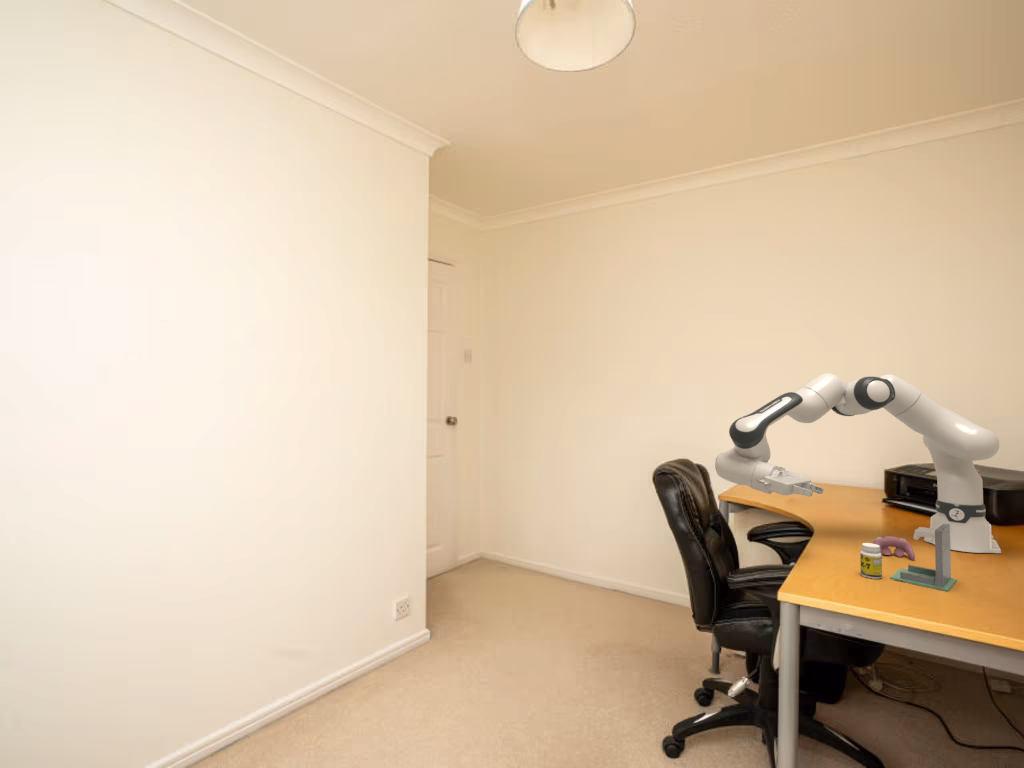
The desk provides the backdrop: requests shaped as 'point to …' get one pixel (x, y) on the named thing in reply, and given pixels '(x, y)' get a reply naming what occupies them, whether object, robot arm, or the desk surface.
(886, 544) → the video game controller
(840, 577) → the desk surface
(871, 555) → the supplement bottle
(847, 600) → the desk surface
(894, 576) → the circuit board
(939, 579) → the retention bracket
